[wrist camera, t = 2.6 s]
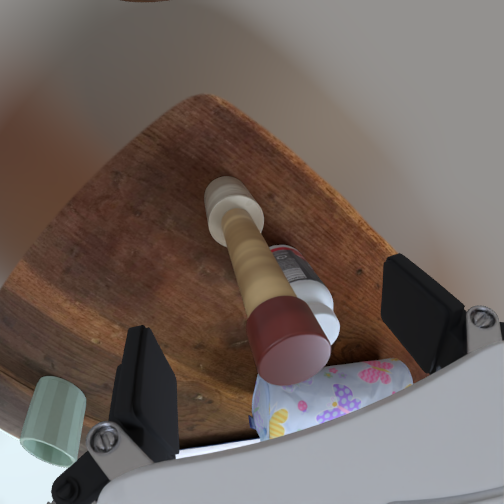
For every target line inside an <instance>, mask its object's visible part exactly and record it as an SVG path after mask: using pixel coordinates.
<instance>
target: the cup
mask: <svg viewBox="0 0 504 504" xmlns="http://www.w3.org/2000/svg"><path fill="white" fill-rule="evenodd" d="M85 408H86V398H85V395H84V394H83V393H82V391H81V390H80V389H79V388H78V387H76V386H75V385H74V384H72V383H70V382H69V381H66V380H64V379H62V378H59V377H55V376H44V377H42V378H40V379H39V381H38V383H37V385H36V388H35V391H34V394H33V397H32V400H31V403H30V406H29V409H28V412H27V416H26V419H25V422H24V426H23V429H22V433H21V437H20V444H21V445H22V447H23V448H24V449H25V450H26V451H28V452H29V453H30V454H31V455H33V456H35V457H36V458H38V459H40V460H42V461H44V462H47V463H49V464H52V465H56V466H59V467H68V468H69V467H70V466H71V465H72V464H73V463H75V462H76V461H77V457H78V450H79V443H80V437H81V430H82V425H83V419H84V414H85Z"/></svg>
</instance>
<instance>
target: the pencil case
mask: <svg viewBox="0 0 504 504" xmlns="http://www.w3.org/2000/svg"><path fill="white" fill-rule="evenodd" d="M411 385H413V381H412V377H411V373H410V371H409V369H408V368H407V366H406V365H405V364H404V363H403V362H401V361H400V360H398V359H395V358H388V359H382V360H375V361H363V362H358V363H350V364H342V365H333V366H327V367H323V369H322V370H321V371H319V372H318V373H317V374H316V375H314V376H313V377H311V378H310V379H308V380H306V381H303V382H301V383H298V384H294V385H288V386H278V385H273V384H270V383H268V382H266V381H264V380H263V379H262V378H261V377H260V376H259V374H258V375H257V380H256V384H255V388H254V394H253V399H252V415H253V417H251V416H250V415H249V423H250V428H252V429H255V430H257V433H258V435H259V437H260V441H261V442H262V441H265V440H269V439H273V438H277V437H280V436H284V435H287V434H290V433H294V432H297V431H300V430H303V429H306V428H309V427H312V426H315V425H318V424H321V423H324V422H327V421H330V420H332V419H335V418H338V417H340V416H343V415H345V414H348V413H351V412H353V411H356V410H358V409H360V408H363V407H365V406H368V405H370V404H372V403H374V402H377V401H379V400H381V399H383V398H386V397H388V396H390V395H392V394H394V393H396V392H398V391H400V390H403V389H405V388H407V387H409V386H411Z"/></svg>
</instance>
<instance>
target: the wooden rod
mask: <svg viewBox="0 0 504 504" xmlns="http://www.w3.org/2000/svg"><path fill="white" fill-rule="evenodd" d="M204 202H205V209H206V214H207V220H208V226H209V231H210V233H211V235H212V237H213V238H214V239H215V240H216V241H217V242H218V243H219V244H221V245H223V246H225V247H227V248H228V252H229V255H230V259H231V262H232V266H233V269H234V273H235V276H236V279H237V283H238V286H239V290H240V293H241V296H242V300H243V303H244V307H245V310H246V313H247V317H248V320H247V323H246V333H247V337H248V340H249V344H250V347H251V351H252V355H253V358H254V362H255V365H256V368H257V372H258V374H259V376H260V377H261V378H262V379H263V380H264V381H266V382H268V383H270V384H273V385H278V386H288V385H294V384H298V383H301V382H303V381H306V380H308V379H310V378H311V377H313V376H314V375H316V374H317V373H318V372H319V371H321V370H322V369H323V367H324V366H325V365H326V364H327V362H328V360H329V358H330V355H331V344H330V341H329V340H328V338H327V336H326V335H325V333H324V331H323V329H322V328H321V326H320V324H319V323H318V321H317V319H316V317H315V316H314V314H313V312H312V311H311V309H310V307H309V306H308V304H307V303H306V302H305V301H303V300H302V299H300V298H298V297H297V296H296V294H295V292H294V290H293V289H292V287H291V285H290V283H289V282H288V280H287V278H286V276H285V275H284V273H283V271H282V269H281V267H280V266H279V264H278V262H277V260H276V259H275V257H274V255H273V253H272V252H271V250H270V248H269V247H268V245H267V243H266V241H265V240H264V238H263V236H262V234H261V231H262V229H263V225H264V215H263V212H262V209H261V208H260V206H259V205H258V203H257V202H256V201H255V199H254V198H253V196H252V195H251V194H250V192H249V191H248V190H247V188H246V187H245V186H244V184H243V183H242V182H241V181H240V180H238V179H236V178H234V177H230V176H223V177H219V178H217V179H215V180H213V181H212V182H211V183H210V184H209V185H208V187H207V188H206V191H205V194H204Z"/></svg>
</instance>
